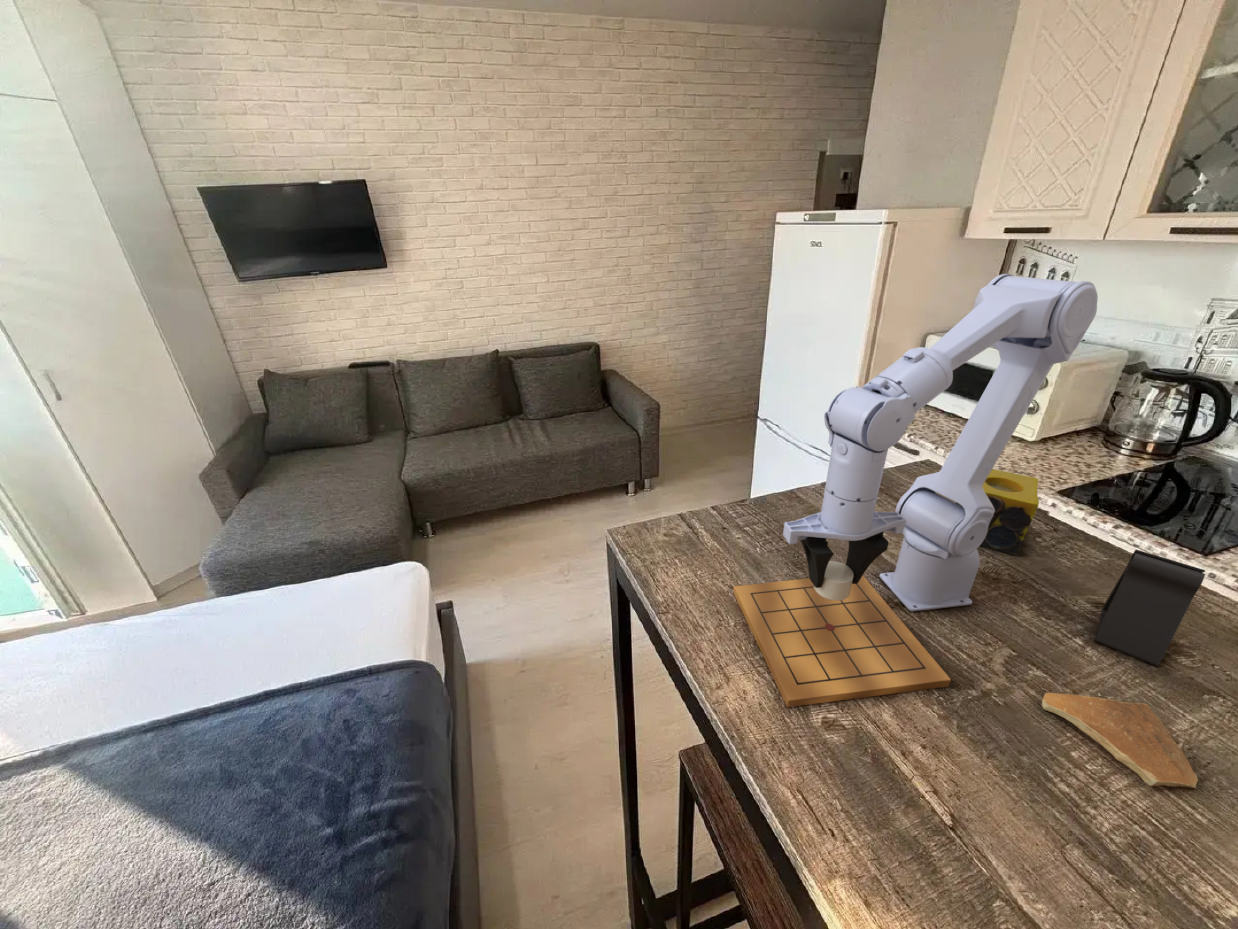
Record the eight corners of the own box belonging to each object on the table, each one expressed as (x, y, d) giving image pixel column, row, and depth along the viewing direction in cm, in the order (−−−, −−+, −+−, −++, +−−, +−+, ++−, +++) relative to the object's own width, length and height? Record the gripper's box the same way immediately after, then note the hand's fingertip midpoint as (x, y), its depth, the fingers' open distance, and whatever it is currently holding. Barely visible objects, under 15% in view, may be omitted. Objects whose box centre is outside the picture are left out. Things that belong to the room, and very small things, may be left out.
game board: (859, 578, 78) (860, 572, 78) (948, 686, 61) (951, 679, 60) (733, 592, 77) (733, 585, 76) (787, 707, 59) (788, 700, 58)
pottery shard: (1033, 699, 59) (1040, 684, 58) (1114, 696, 59) (1123, 681, 57) (1113, 792, 49) (1123, 776, 48) (1210, 789, 49) (1222, 773, 48)
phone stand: (1102, 606, 71) (1139, 535, 66) (1162, 628, 67) (1206, 555, 62) (1092, 641, 66) (1131, 567, 60) (1157, 668, 62) (1204, 591, 56)
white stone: (839, 576, 69) (842, 558, 67) (856, 599, 65) (860, 580, 63) (808, 580, 68) (811, 562, 67) (823, 602, 64) (826, 584, 63)
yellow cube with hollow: (952, 510, 94) (967, 462, 90) (1020, 527, 89) (1039, 477, 84) (946, 537, 87) (961, 486, 82) (1018, 557, 81) (1039, 504, 77)
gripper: (890, 469, 64) (869, 556, 70) (778, 478, 63) (768, 567, 69) (926, 497, 58) (900, 590, 64) (803, 508, 56) (789, 602, 63)
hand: (833, 580), depth 66 cm, fingers closed on white stone, 4 cm apart
